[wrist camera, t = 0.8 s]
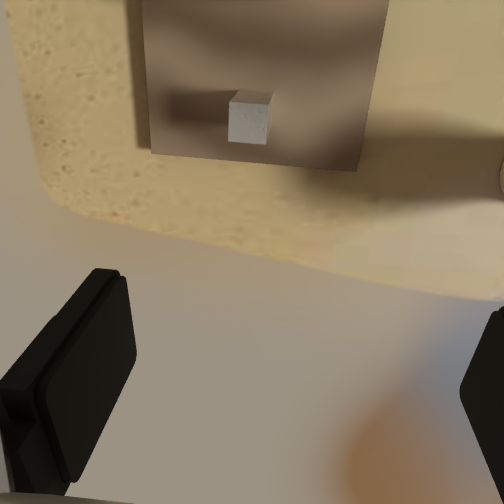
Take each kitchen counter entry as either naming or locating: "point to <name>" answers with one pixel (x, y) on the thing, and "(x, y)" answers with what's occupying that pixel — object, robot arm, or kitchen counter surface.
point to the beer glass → (502, 177)
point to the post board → (262, 78)
